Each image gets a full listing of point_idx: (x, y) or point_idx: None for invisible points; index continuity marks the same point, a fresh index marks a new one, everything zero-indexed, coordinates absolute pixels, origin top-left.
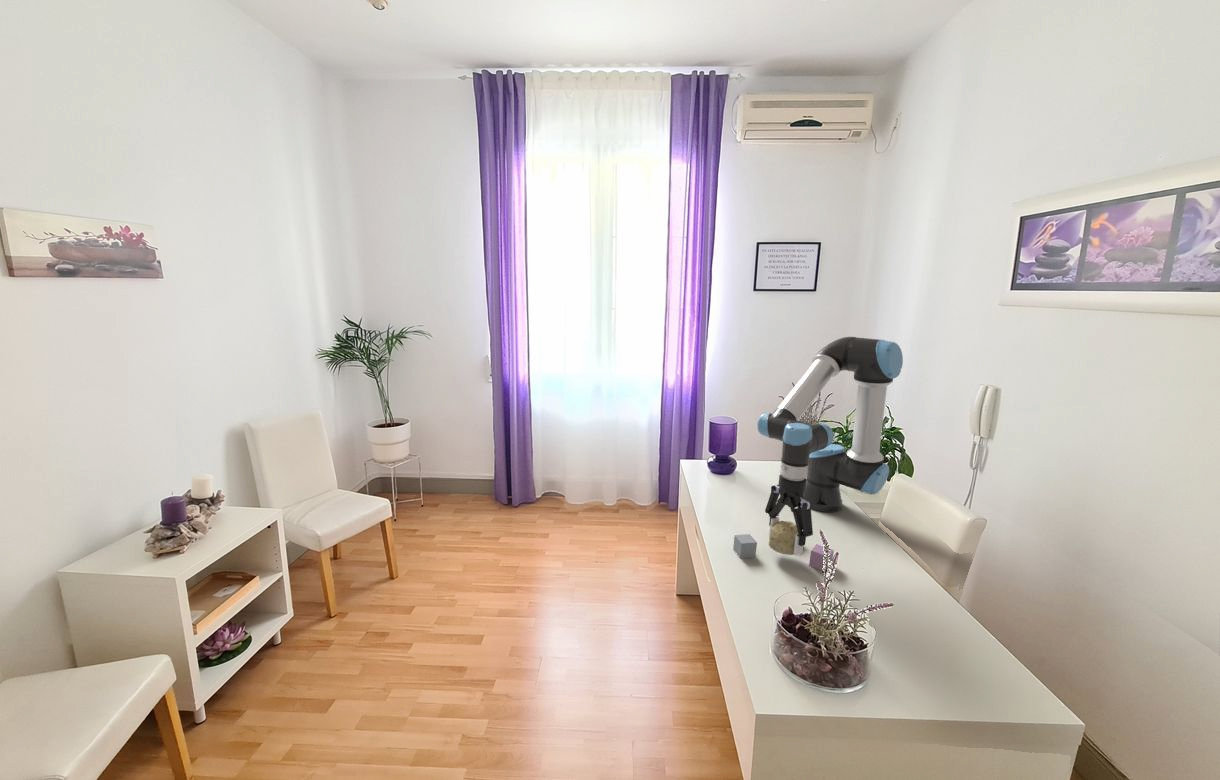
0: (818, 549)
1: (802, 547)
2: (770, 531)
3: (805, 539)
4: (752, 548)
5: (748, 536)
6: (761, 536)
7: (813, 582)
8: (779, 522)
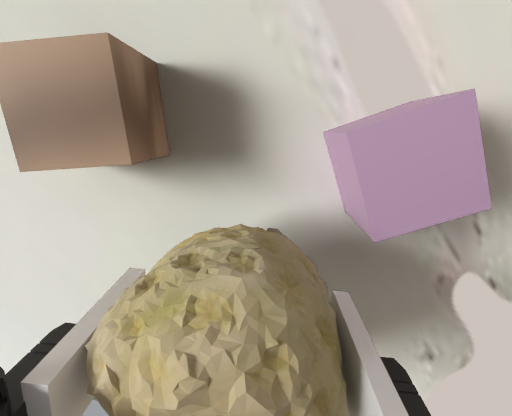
0: (397, 188)
1: (359, 322)
2: None
3: (425, 409)
4: None
5: (88, 412)
6: (45, 200)
7: (431, 303)
8: (109, 405)
